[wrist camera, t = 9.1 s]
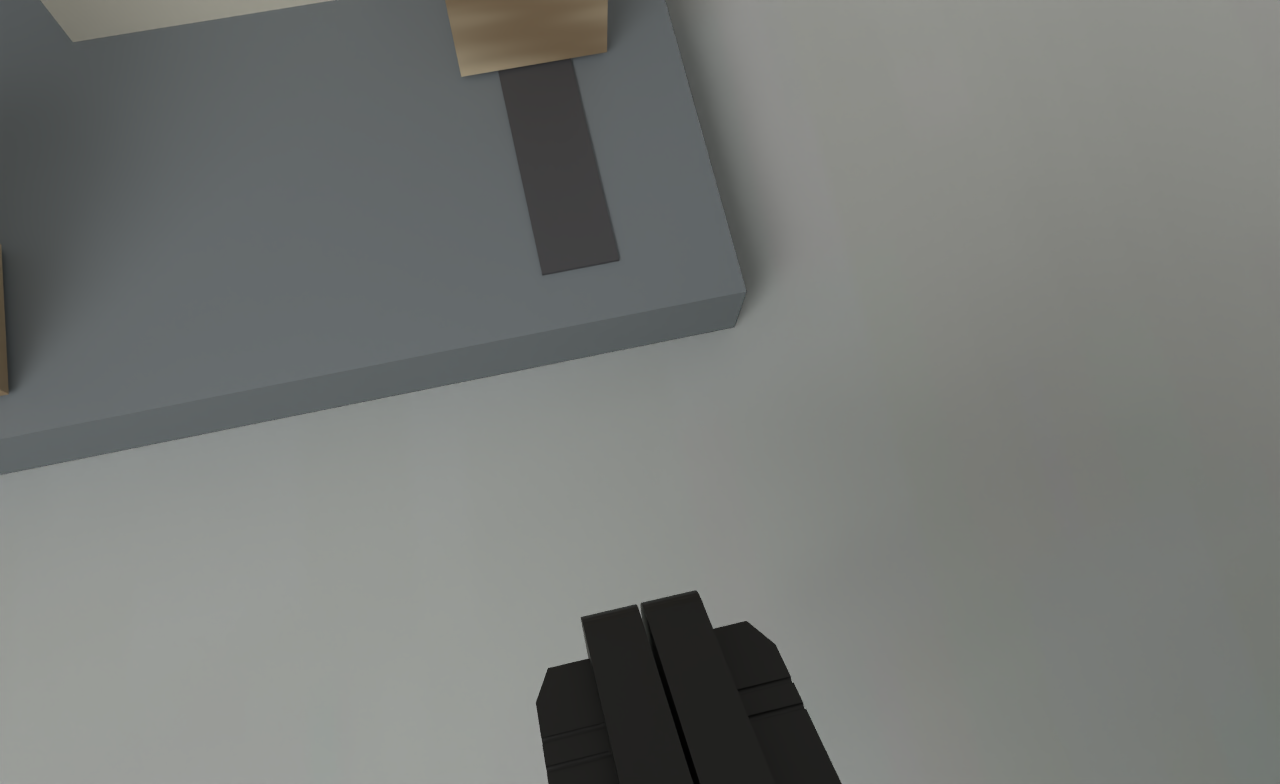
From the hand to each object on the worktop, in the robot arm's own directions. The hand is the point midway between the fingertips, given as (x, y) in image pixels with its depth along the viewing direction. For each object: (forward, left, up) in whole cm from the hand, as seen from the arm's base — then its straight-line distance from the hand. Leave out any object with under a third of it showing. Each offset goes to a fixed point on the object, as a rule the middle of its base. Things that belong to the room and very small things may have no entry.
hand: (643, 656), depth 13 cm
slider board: (-7, +15, -13) cm, 21 cm away
